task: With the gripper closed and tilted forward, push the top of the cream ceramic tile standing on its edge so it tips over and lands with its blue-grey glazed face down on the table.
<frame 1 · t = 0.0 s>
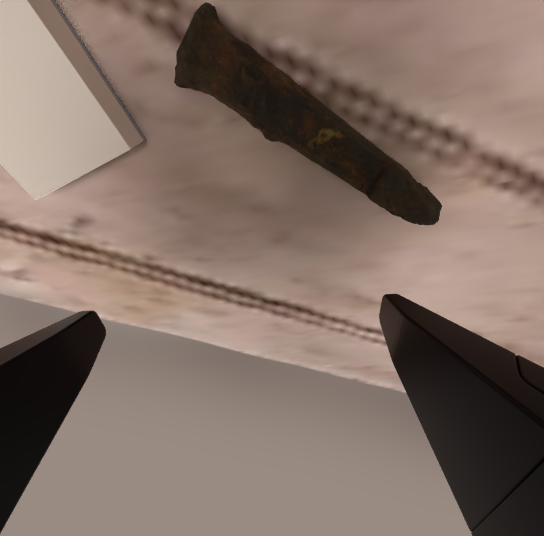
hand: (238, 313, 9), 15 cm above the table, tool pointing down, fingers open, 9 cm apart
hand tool: (328, 126, 20), on the table
flat tile: (35, 81, 18), on the table
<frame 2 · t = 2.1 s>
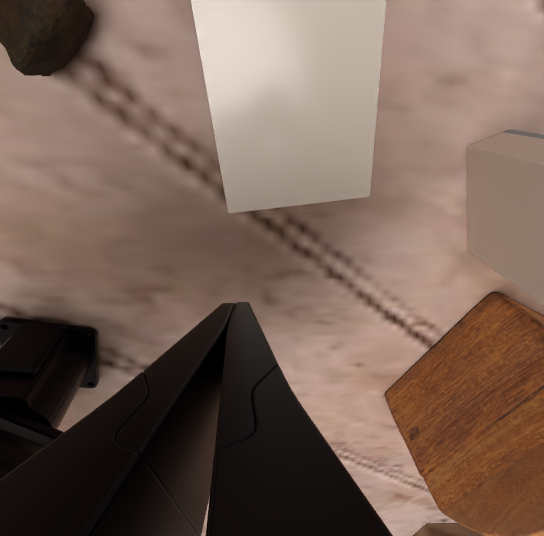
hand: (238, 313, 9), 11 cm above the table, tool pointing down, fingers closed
wooden box: (530, 378, 33), on the table
tile: (485, 197, 20), on the table
flat tile: (287, 90, 16), on the table
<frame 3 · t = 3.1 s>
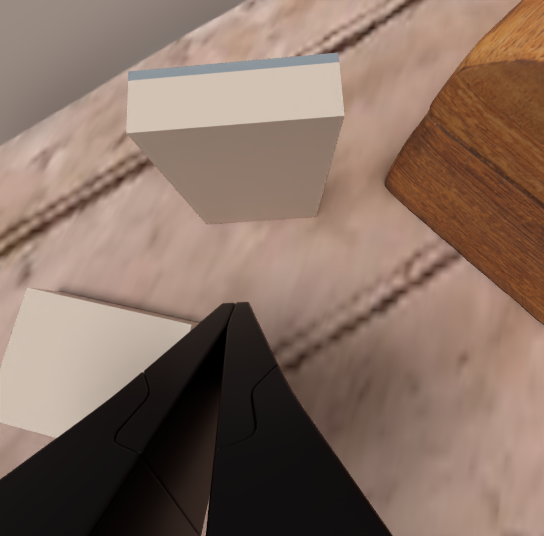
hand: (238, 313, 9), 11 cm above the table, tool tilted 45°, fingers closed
tile: (260, 204, 22), on the table
flat tile: (112, 364, 21), on the table
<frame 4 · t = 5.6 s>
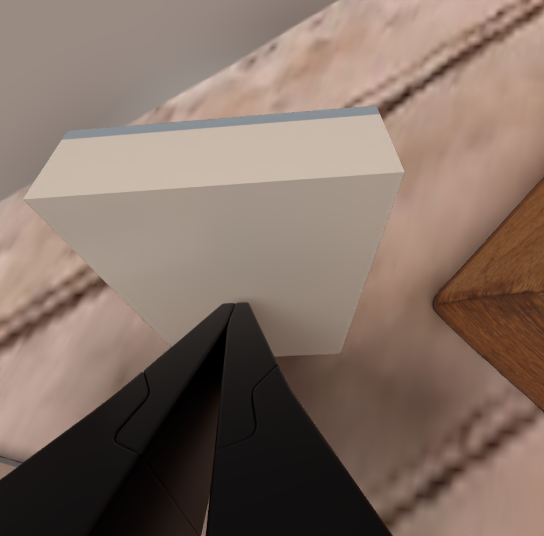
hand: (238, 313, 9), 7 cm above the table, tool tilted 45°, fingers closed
tile: (261, 333, 16), point 1 cm above the table, tilted 25°
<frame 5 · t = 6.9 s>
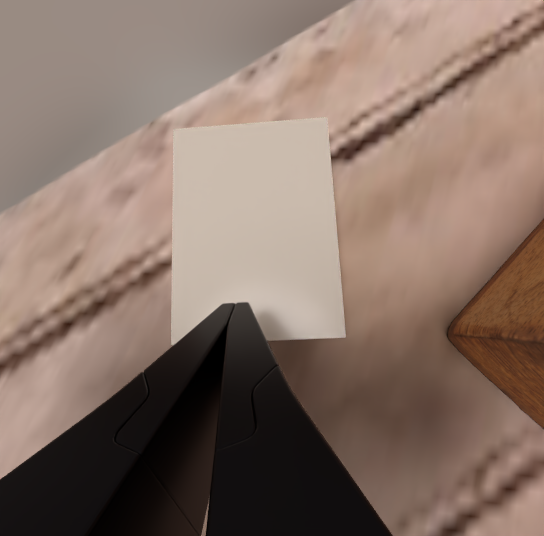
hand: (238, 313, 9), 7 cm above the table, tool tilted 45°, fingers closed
tile: (259, 339, 15), point 1 cm above the table, tilted 90°
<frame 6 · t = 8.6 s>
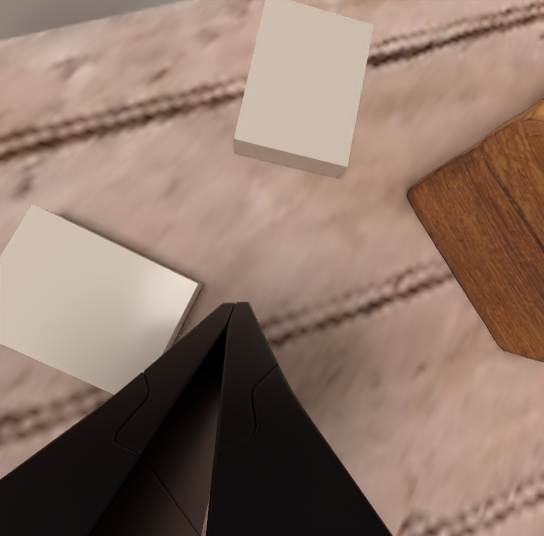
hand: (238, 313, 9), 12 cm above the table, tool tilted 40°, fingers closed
tile: (288, 160, 22), point 1 cm above the table, tilted 90°
flat tile: (103, 301, 20), on the table
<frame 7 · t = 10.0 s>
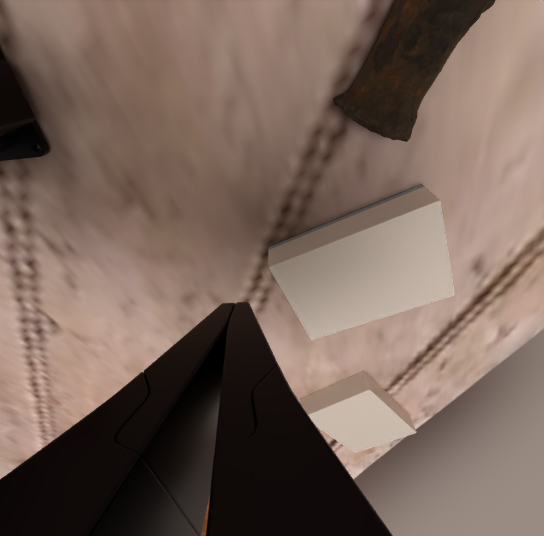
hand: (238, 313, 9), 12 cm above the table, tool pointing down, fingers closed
tile: (332, 392, 32), point 1 cm above the table, tilted 90°
flat tile: (356, 260, 23), on the table
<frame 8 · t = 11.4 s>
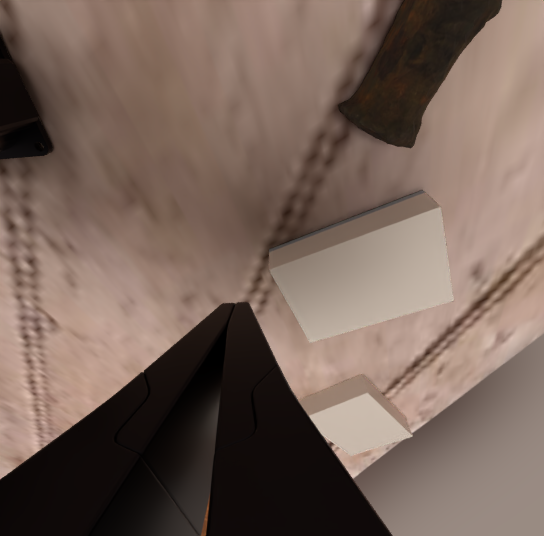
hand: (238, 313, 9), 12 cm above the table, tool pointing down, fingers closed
tile: (330, 395, 32), point 1 cm above the table, tilted 90°
flat tile: (356, 264, 23), on the table
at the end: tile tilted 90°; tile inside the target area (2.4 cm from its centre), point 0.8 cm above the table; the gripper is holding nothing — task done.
